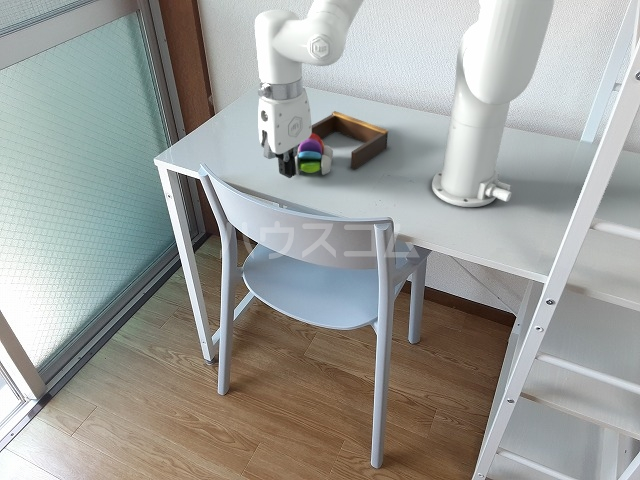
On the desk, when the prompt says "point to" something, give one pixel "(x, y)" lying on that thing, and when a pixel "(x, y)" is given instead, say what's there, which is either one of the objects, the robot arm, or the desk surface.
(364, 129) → the garage
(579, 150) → the desk surface
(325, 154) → the rainbow white-wheeled buggy
